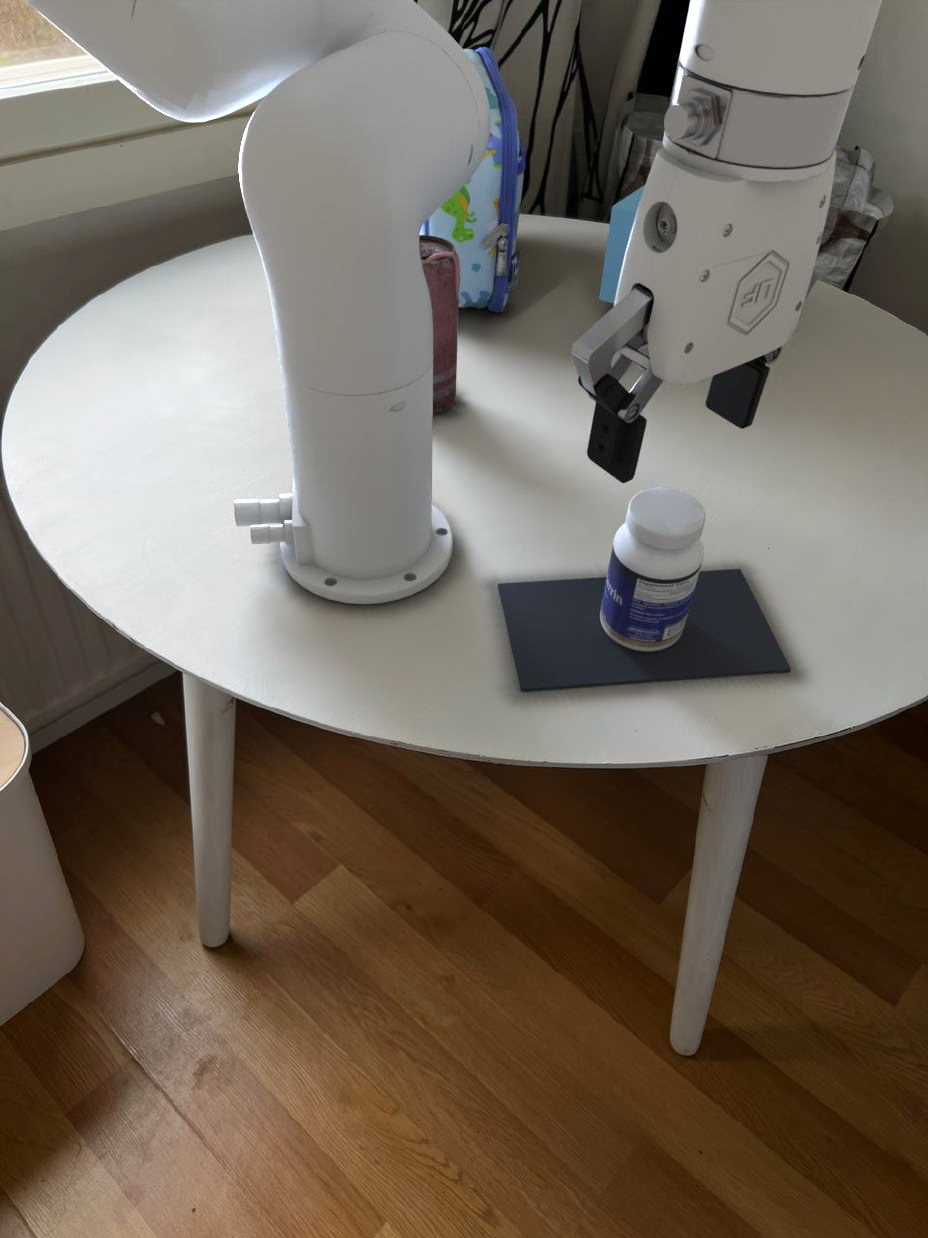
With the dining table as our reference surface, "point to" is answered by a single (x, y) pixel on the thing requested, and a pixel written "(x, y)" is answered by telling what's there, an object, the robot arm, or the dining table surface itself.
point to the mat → (587, 656)
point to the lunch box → (487, 203)
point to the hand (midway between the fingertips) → (670, 442)
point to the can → (442, 315)
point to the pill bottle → (653, 569)
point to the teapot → (618, 243)
